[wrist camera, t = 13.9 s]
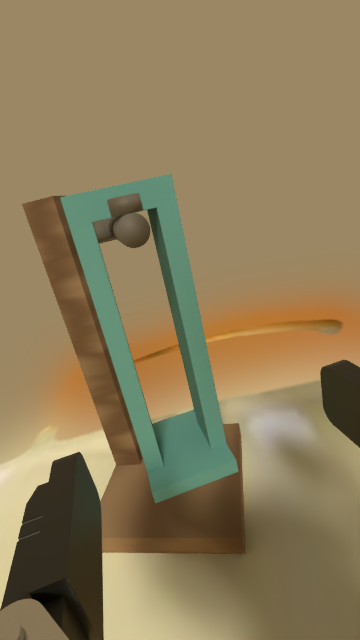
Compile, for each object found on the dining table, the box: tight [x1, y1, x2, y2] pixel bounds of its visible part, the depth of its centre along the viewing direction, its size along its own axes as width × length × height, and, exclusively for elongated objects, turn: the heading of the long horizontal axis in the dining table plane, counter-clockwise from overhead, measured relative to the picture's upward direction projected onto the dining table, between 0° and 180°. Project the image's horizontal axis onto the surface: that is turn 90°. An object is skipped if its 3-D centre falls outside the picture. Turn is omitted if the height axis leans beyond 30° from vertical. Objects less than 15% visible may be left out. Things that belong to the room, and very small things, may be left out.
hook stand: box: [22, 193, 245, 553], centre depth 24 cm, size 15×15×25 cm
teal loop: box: [60, 174, 239, 503], centre depth 22 cm, size 6×7×20 cm
